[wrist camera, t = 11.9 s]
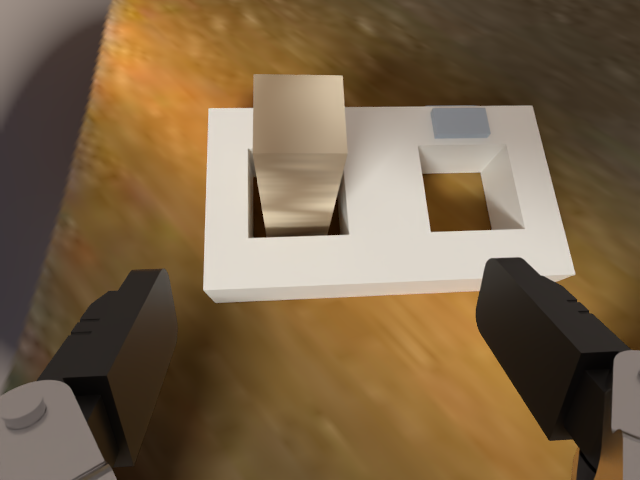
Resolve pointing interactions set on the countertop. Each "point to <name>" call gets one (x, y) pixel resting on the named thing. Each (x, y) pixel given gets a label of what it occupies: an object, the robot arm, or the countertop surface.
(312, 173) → the beech plug
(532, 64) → the countertop surface
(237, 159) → the socket hub
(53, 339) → the countertop surface
